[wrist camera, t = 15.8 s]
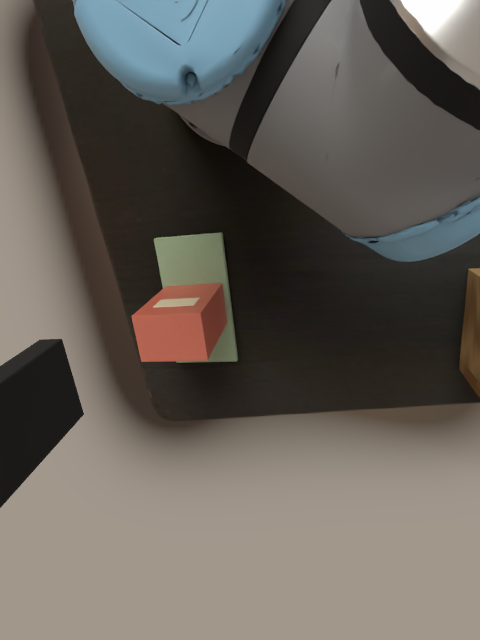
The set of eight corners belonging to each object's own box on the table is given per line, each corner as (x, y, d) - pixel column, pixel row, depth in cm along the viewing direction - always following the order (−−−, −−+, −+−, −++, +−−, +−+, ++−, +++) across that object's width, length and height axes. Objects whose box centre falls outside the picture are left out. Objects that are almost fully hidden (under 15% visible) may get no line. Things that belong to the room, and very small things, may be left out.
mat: (156, 237, 47) (153, 239, 46) (222, 232, 45) (221, 233, 45) (178, 360, 52) (176, 362, 52) (238, 358, 51) (237, 361, 50)
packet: (165, 285, 48) (131, 315, 39) (222, 282, 47) (200, 312, 37) (172, 325, 50) (141, 362, 41) (227, 322, 48) (208, 361, 39)
